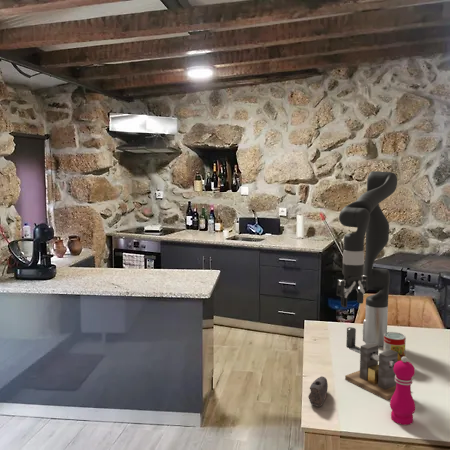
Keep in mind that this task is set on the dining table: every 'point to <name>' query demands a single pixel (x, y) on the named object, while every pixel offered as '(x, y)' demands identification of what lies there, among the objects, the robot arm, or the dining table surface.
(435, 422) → the dining table surface
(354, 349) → the shaft
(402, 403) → the pepper mill
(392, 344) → the canned food
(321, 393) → the perforated stone tool
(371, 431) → the dining table surface
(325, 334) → the dining table surface
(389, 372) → the shaft stand
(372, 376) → the spacer
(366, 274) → the robot arm
